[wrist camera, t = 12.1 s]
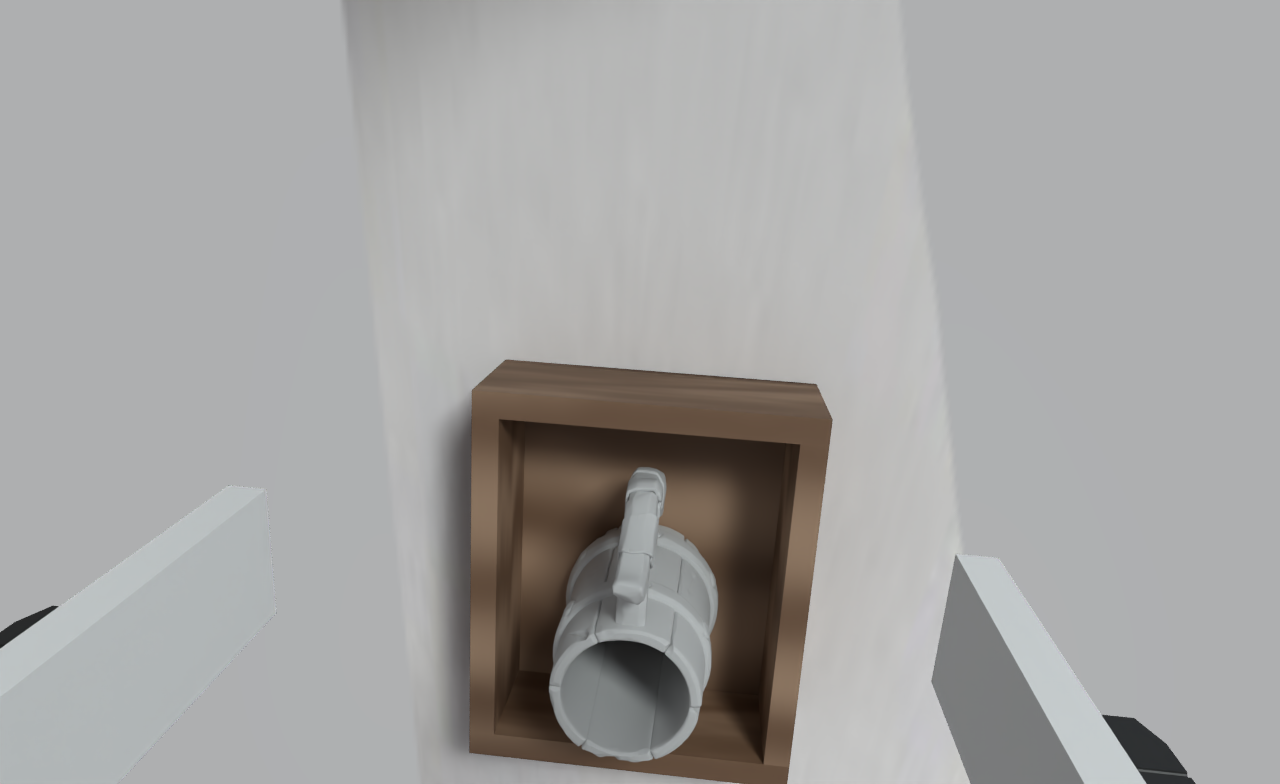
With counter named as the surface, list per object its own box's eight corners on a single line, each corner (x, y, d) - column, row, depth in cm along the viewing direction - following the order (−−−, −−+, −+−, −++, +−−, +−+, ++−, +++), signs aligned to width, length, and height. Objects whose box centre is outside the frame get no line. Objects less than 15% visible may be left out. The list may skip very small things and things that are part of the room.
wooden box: (505, 359, 42) (471, 390, 36) (816, 384, 41) (832, 419, 35) (500, 680, 47) (469, 752, 41) (777, 710, 46) (786, 788, 40)
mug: (569, 641, 45) (518, 805, 34) (578, 432, 42) (525, 533, 30) (711, 656, 45) (709, 827, 33) (731, 446, 41) (736, 553, 30)
